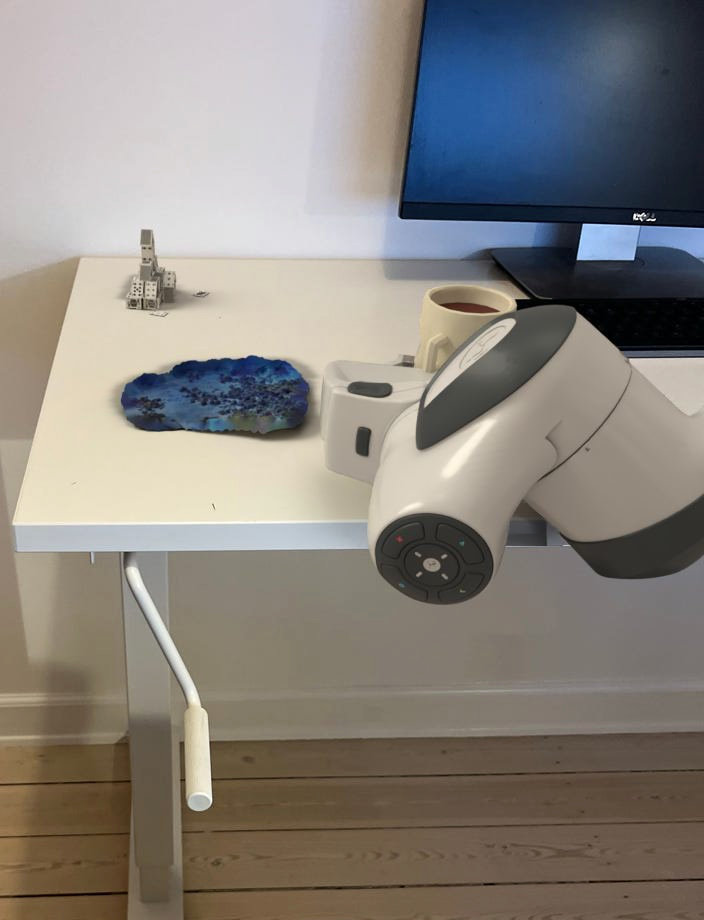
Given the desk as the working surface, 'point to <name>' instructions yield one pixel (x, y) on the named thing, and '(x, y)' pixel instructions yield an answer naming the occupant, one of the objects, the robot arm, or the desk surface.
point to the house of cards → (152, 280)
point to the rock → (219, 396)
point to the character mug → (455, 320)
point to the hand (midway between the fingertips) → (457, 369)
